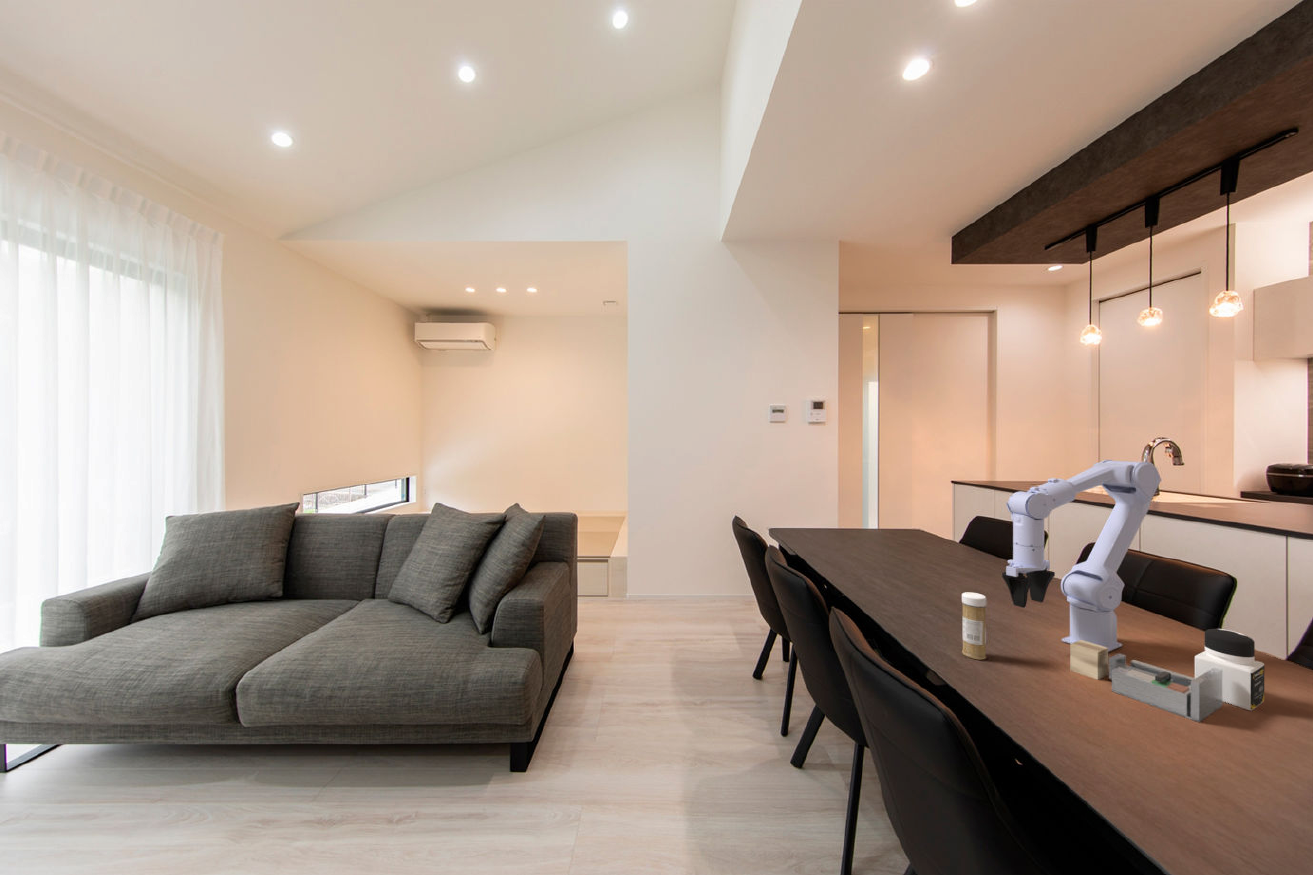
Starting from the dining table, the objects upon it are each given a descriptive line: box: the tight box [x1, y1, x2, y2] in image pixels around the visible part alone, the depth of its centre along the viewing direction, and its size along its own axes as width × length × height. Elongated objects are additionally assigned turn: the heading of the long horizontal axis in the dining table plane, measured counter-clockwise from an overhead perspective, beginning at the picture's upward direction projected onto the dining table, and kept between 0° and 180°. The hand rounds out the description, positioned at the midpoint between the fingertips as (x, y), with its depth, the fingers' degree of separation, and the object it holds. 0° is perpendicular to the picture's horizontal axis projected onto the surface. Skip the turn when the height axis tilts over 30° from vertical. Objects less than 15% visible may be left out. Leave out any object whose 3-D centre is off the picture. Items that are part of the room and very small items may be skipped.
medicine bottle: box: [1194, 628, 1265, 712], centre depth 91 cm, size 7×7×12 cm
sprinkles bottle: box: [961, 591, 987, 661], centre depth 108 cm, size 5×5×14 cm
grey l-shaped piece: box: [1108, 653, 1173, 682], centre depth 93 cm, size 8×8×4 cm
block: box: [1069, 640, 1109, 681], centre depth 101 cm, size 4×4×6 cm
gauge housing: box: [1111, 659, 1223, 723], centre depth 91 cm, size 11×12×6 cm
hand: (1028, 603), depth 113 cm, fingers open, 7 cm apart
